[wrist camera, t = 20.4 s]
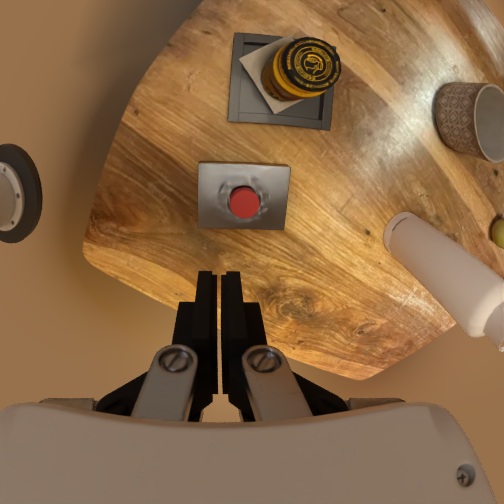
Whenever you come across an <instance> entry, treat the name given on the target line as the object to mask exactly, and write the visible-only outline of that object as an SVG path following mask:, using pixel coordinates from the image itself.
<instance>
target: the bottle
mask: <svg viewBox="0 0 504 504" xmlns="http://www.w3.org/2000/svg"><path fill="white" fill-rule="evenodd" d="M404 218H406V219H404ZM402 219H404V220H402ZM401 220H402V221H401ZM400 221H401V222H400ZM398 222H400V223H399V224H398V225H397V226H396V227H395V225H396V224H397V223H398ZM394 227H395V229H394ZM393 229H394V230H393ZM392 230H393V231H392ZM383 242H384V246H385V248H386V249H387V251H388V252H389V253H391V254H392V255H393V256H394V257H395V258H396V259H397V260H398V261H399V262H400V263H401V264H402V265H403V266H404V267H405V268H406V269H407V270H408V271H409V272H410V273H411V274H412V275H413V276H414V277H415V278H416V279H417V280H418V281H419V282H420V283H421V284H422V285H423V286H424V287H425V288H426V289H427V290H428V291H429V292H430V293H431V294H432V296H433V297H434V298H435V299H436V300H437V301H438V302H439V303H440V304H441V305H442V306H443V307H444V308H445V310H446V311H447V312H448V313H449V314H450V315H451V316H452V317H453V318H454V320H455V321H456V322H457V323H458V324H459V325H460V326H461V328H462V329H463V330H464V331H465V332H466V333H467V334H468V335H470V336H472V337H480V336H484V335H486V336H487V337H488V338H489V339H490V340H491V341H492V342H493V344H494V345H495V346H496V347H497V349H498V350H499V351H500V352H502V351H504V346H503V347H501V348H500V346H501V344H502V342H503V340H504V280H503V279H502V278H501V277H500V276H498V275H497V274H496V273H495V272H494V271H492V270H491V269H490V268H489V267H487V266H486V265H485V264H484V263H482V262H481V261H480V260H478V259H477V258H476V257H475V256H473V255H472V254H471V253H469V252H468V251H467V250H465V249H464V248H463V247H461V246H460V245H458V244H457V243H456V242H454V241H453V240H451V239H450V238H449V237H447V236H446V235H444V234H443V233H441V232H440V231H438V230H437V229H436V228H434V227H433V226H431V225H430V224H428V223H427V222H425V221H423V220H422V219H420V218H418V217H417V216H416V215H414V214H413V213H410V212H401V213H399V214H397V215H395V216H394V217H393V218H392V219H391V220H390V221H389V223H388V224H387V226H386V228H385V231H384V235H383Z"/></svg>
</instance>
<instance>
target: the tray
mask: <svg viewBox="0 0 504 504" xmlns="http://www.w3.org/2000/svg"><path fill="white" fill-rule="evenodd" d="M282 38H284V37H280V36H271V35H262V34H250V33H234V39H233V51H232V64H231V77H230V92H229V107H228V121H229V122H250V123H265V124H277V125H287V126H297V127H305V128H313V129H320V130H327V131H330V126H331V115H332V104H333V92H334V85H333V86H332V87H330V88H329V89H327V90H326V91H325V92H324V93H322V94H320V95H317V96H314V97H312V98H306V99H304V100H302V101H300V102H298V103H296V104H294V105H292V106H290V107H288V108H286V109H284V110H282V111H280V112H279V113H277V114H274V112H273V111H272V109H271V108H270V106H269V104H268V103H267V101H266V100H265V98H264V96H263V95H262V93H261V92H260V90H259V89H258V87H257V85H256V84H255V82H254V81H253V79H252V78H251V76H250V75H249V73H248V72H247V70H246V69H245V67H244V66H243V64H242V63H241V61H240V60H239V59H240V58H242V57H244V56H246V55H248V54H250V53H252V52H254V51H256V50H258V49H260V48H262V47H264V46H266V45H268V44H271V43H273V42H275V41H277V40H279V39H282ZM293 39H294V38H293ZM295 40H297V39H294V41H295ZM332 47H333V48H334V50H335V51H336V47H335V46H332Z"/></svg>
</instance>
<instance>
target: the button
mask: <svg viewBox="0 0 504 504" xmlns="http://www.w3.org/2000/svg"><path fill="white" fill-rule="evenodd" d="M259 205H260V202H259V199H258V196H257V194H256V193H255V191H254V190H252V189H251V188H248V187H241V188H238V189H236V190H235V191H234V192H233V193H232V195H231V197H230V208H231V210H232V212H233V213H234V214H235V215H236V216H237V217H240V218H249V217H252V216H253V215H255V214H256V213H257V211H258V209H259Z"/></svg>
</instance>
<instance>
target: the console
mask: <svg viewBox="0 0 504 504" xmlns="http://www.w3.org/2000/svg"><path fill="white" fill-rule="evenodd" d="M290 171H291V167H290V166H288V165H287V164H273V163H256V162H233V161H199V163H198V228H220V229H264V230H284V226H285V218H286V209H287V199H288V190H289V180H290ZM241 187H248V188H251V189H252V190H254V191H255V193H256V194H257V196H258V199H259V202H260V205H259V209H258V211H257V213H256V214H255V215H253V216H252V217H249V218H240V217H237V216H236V215H235V214H234V213H233V212H232V210H231V208H230V197H231V195H232V193H233V192H234V191H235V190H236V189H238V188H241Z"/></svg>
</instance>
